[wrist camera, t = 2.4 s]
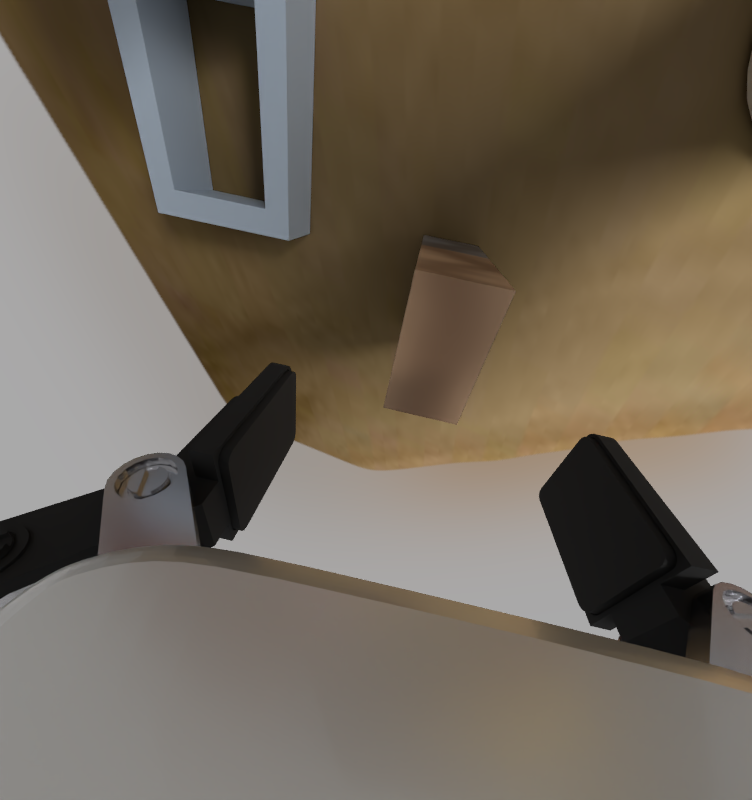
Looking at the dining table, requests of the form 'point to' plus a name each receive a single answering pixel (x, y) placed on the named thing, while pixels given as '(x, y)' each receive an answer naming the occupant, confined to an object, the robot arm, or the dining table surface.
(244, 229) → the blue stepped tray
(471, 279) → the wooden rectangular block
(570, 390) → the dining table surface
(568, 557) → the robot arm
